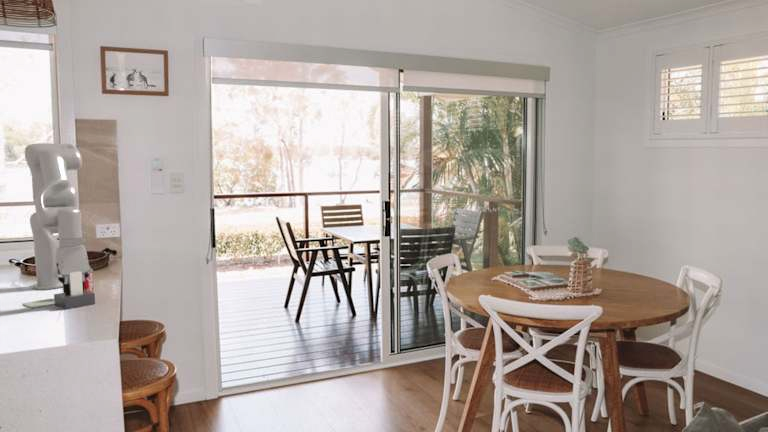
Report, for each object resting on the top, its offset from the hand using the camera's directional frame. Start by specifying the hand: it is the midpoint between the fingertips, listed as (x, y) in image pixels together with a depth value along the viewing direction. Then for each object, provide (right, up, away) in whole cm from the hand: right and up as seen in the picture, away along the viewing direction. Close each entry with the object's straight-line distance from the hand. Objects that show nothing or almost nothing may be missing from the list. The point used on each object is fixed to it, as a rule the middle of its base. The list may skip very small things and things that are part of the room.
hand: (74, 292), depth 219 cm
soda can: (-3, -3, +12) cm, 13 cm away
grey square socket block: (0, -4, 0) cm, 4 cm away
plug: (0, -4, 0) cm, 4 cm away
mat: (-13, -4, +2) cm, 14 cm away
